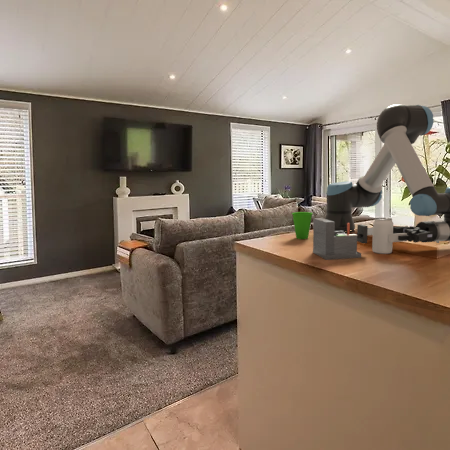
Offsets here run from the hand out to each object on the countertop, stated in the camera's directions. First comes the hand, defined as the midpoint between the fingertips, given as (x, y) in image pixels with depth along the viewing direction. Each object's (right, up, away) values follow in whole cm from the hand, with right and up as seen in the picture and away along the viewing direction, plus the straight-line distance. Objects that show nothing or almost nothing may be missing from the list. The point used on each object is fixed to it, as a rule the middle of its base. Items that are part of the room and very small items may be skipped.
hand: (376, 234), depth 123 cm
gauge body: (-14, -7, -1) cm, 16 cm away
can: (+3, -6, +1) cm, 7 cm away
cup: (-19, -3, +32) cm, 37 cm away
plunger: (-9, -4, -1) cm, 10 cm away
